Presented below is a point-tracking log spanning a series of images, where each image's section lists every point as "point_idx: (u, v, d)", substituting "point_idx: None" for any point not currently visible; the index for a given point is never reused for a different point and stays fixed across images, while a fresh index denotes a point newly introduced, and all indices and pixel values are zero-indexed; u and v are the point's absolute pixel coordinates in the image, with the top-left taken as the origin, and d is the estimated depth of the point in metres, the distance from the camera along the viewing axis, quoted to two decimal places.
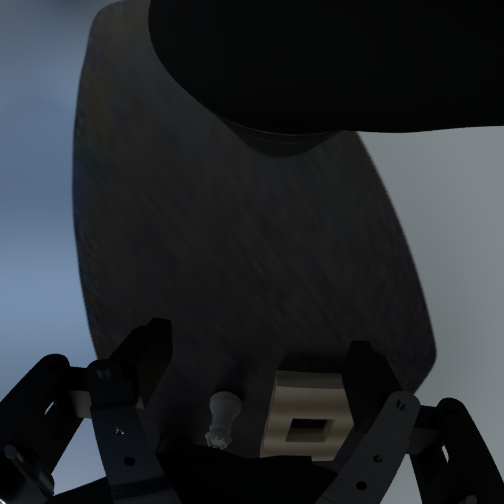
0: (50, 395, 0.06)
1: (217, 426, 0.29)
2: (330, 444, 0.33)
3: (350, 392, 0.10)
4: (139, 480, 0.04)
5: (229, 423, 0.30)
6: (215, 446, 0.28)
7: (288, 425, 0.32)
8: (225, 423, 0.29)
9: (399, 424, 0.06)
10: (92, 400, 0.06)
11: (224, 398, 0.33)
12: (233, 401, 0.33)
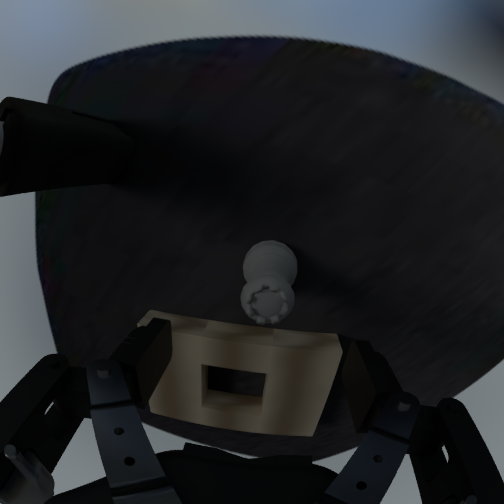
0: (50, 395, 0.06)
1: None
2: (197, 412, 0.25)
3: (350, 392, 0.10)
4: (139, 480, 0.04)
5: None
6: (251, 299, 0.16)
7: (249, 369, 0.23)
8: None
9: (399, 424, 0.06)
10: (92, 400, 0.06)
11: (296, 272, 0.22)
12: None
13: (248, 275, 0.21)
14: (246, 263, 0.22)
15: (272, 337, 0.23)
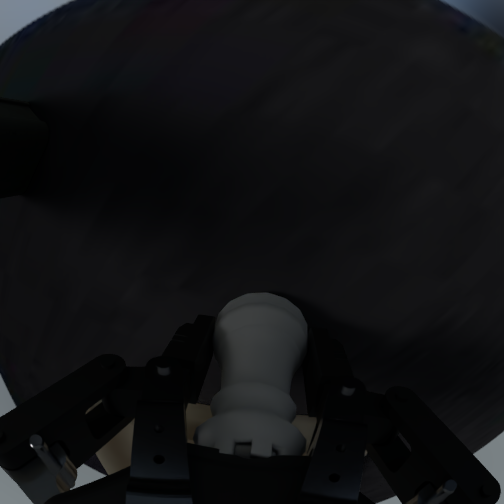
0: (96, 395, 0.06)
1: (289, 419, 0.07)
2: None
3: (306, 377, 0.11)
4: (139, 480, 0.04)
5: None
6: None
7: None
8: None
9: (350, 409, 0.07)
10: (143, 394, 0.07)
11: (306, 349, 0.12)
12: (296, 369, 0.12)
13: (219, 360, 0.11)
14: (216, 336, 0.11)
15: None
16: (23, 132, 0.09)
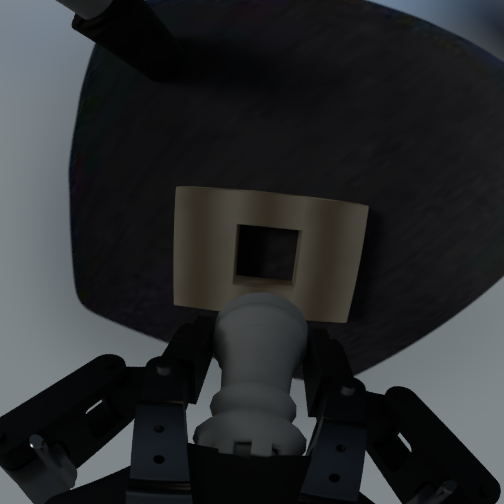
0: (96, 395, 0.06)
1: (289, 419, 0.07)
2: (226, 294, 0.27)
3: (306, 377, 0.11)
4: (139, 480, 0.04)
5: None
6: None
7: (284, 225, 0.25)
8: None
9: (350, 409, 0.07)
10: (143, 394, 0.07)
11: (306, 349, 0.12)
12: None
13: (219, 360, 0.11)
14: (216, 336, 0.11)
15: (303, 196, 0.26)
16: (178, 45, 0.22)
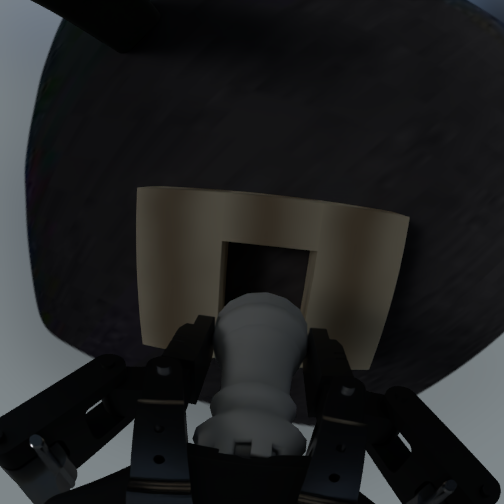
0: (96, 396, 0.06)
1: (289, 419, 0.07)
2: None
3: (306, 377, 0.11)
4: (139, 480, 0.04)
5: None
6: None
7: (291, 244, 0.17)
8: None
9: (350, 409, 0.07)
10: (143, 394, 0.07)
11: (306, 349, 0.12)
12: None
13: (219, 360, 0.11)
14: (216, 336, 0.11)
15: (319, 201, 0.18)
16: (150, 5, 0.14)
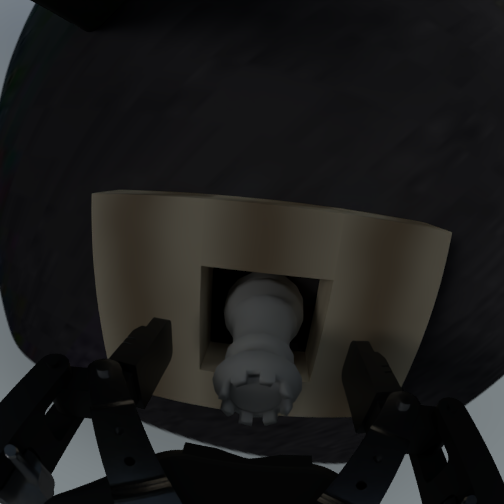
0: (50, 395, 0.06)
1: None
2: (191, 382, 0.14)
3: (350, 392, 0.10)
4: (139, 480, 0.04)
5: None
6: (228, 392, 0.08)
7: (297, 271, 0.12)
8: None
9: (399, 424, 0.06)
10: (92, 400, 0.06)
11: (302, 318, 0.14)
12: (294, 336, 0.15)
13: (230, 326, 0.14)
14: (227, 307, 0.14)
15: (336, 210, 0.13)
16: None
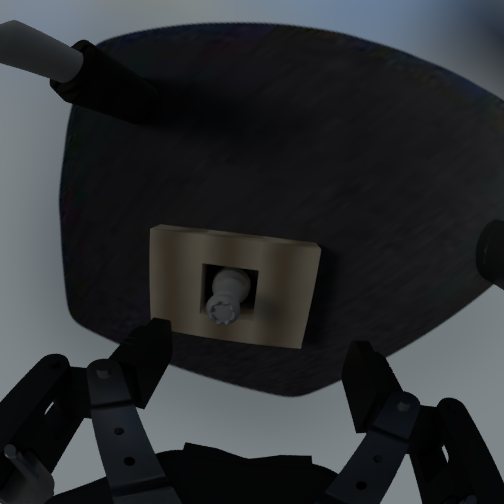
0: (50, 395, 0.06)
1: None
2: (194, 321, 0.31)
3: (350, 392, 0.10)
4: (139, 480, 0.04)
5: None
6: (212, 309, 0.25)
7: (243, 266, 0.29)
8: None
9: (399, 424, 0.06)
10: (92, 400, 0.06)
11: (249, 289, 0.31)
12: (245, 298, 0.31)
13: (214, 291, 0.30)
14: (213, 282, 0.31)
15: (262, 239, 0.29)
16: (152, 90, 0.25)
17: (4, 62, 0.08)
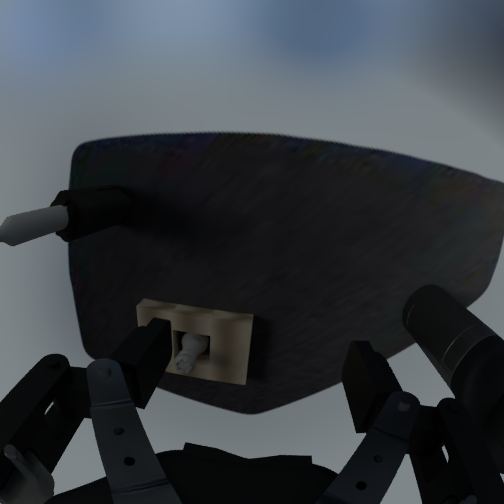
0: (50, 395, 0.06)
1: (194, 359, 0.38)
2: (171, 364, 0.42)
3: (350, 392, 0.10)
4: (139, 480, 0.04)
5: None
6: (177, 364, 0.36)
7: (199, 332, 0.40)
8: None
9: (399, 424, 0.06)
10: (92, 400, 0.06)
11: (206, 345, 0.42)
12: (204, 350, 0.43)
13: (183, 346, 0.42)
14: (182, 340, 0.42)
15: (212, 314, 0.41)
16: (125, 204, 0.37)
17: None
